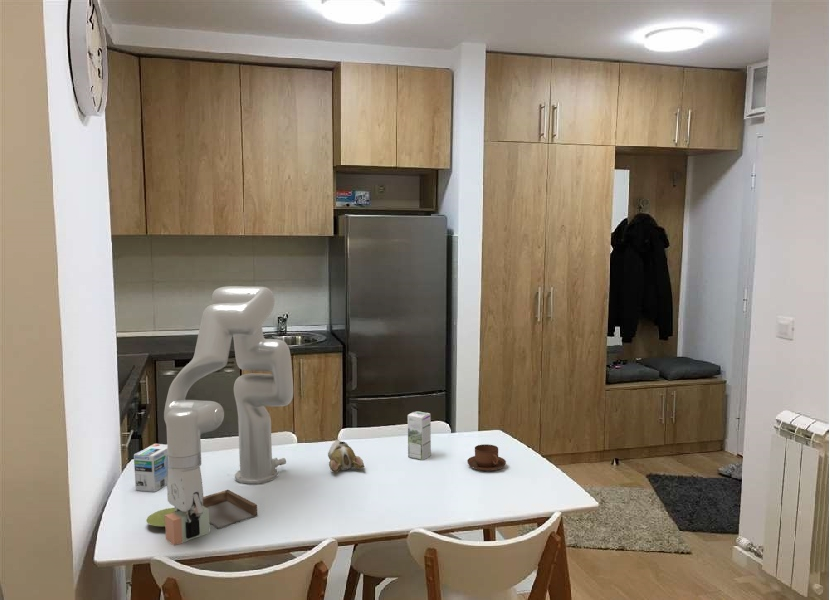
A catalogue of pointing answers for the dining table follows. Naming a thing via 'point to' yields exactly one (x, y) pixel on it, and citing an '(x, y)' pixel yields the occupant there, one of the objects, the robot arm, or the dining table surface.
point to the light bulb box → (151, 468)
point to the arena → (228, 508)
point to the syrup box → (419, 435)
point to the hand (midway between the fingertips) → (187, 532)
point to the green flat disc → (159, 517)
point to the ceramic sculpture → (343, 457)
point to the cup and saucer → (486, 458)
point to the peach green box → (184, 526)
